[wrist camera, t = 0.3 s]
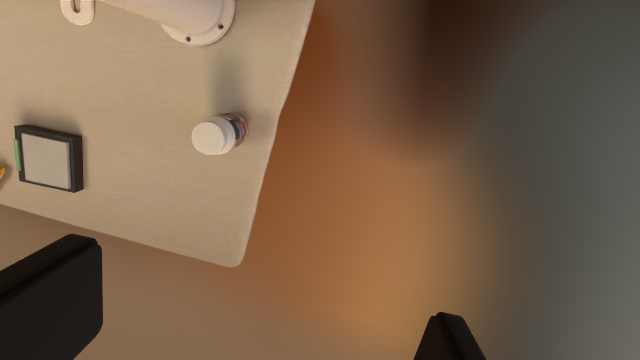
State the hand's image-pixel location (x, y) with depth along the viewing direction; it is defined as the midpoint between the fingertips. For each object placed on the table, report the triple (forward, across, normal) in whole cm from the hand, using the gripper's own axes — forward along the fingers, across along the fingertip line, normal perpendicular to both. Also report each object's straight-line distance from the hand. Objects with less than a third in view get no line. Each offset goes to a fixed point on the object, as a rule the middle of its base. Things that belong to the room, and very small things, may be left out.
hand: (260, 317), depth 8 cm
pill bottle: (+43, +15, +4) cm, 46 cm away
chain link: (+43, +38, -12) cm, 59 cm away
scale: (+43, +46, +15) cm, 65 cm away
